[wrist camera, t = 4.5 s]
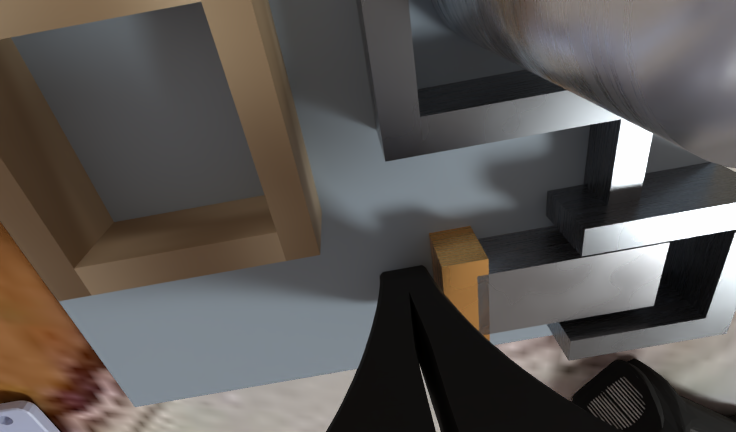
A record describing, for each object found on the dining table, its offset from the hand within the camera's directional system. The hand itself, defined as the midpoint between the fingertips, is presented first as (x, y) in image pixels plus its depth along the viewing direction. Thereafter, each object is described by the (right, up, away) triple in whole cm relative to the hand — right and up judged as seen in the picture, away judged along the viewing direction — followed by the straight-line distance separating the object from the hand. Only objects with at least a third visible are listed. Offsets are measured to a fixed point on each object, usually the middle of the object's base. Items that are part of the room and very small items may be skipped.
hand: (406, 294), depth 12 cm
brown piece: (-6, +4, -2) cm, 8 cm away
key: (+4, +1, 0) cm, 4 cm away
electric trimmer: (+15, -7, +8) cm, 18 cm away
